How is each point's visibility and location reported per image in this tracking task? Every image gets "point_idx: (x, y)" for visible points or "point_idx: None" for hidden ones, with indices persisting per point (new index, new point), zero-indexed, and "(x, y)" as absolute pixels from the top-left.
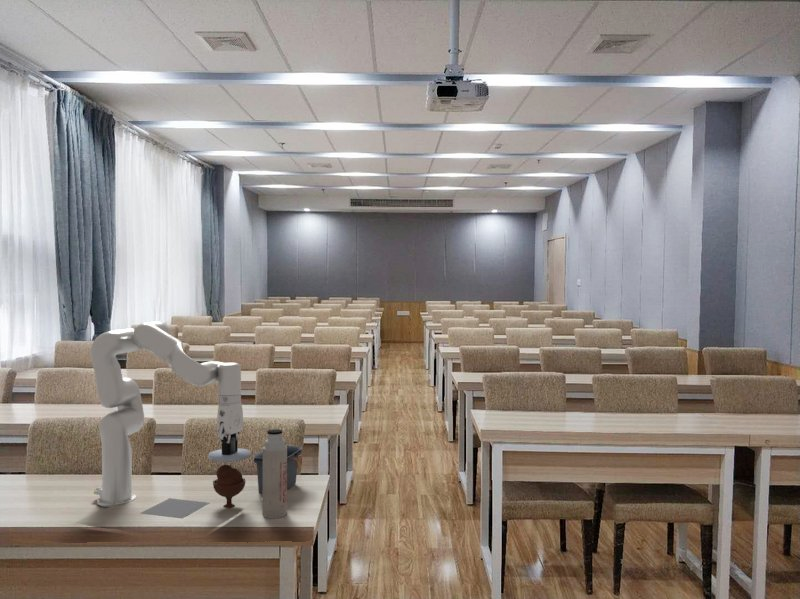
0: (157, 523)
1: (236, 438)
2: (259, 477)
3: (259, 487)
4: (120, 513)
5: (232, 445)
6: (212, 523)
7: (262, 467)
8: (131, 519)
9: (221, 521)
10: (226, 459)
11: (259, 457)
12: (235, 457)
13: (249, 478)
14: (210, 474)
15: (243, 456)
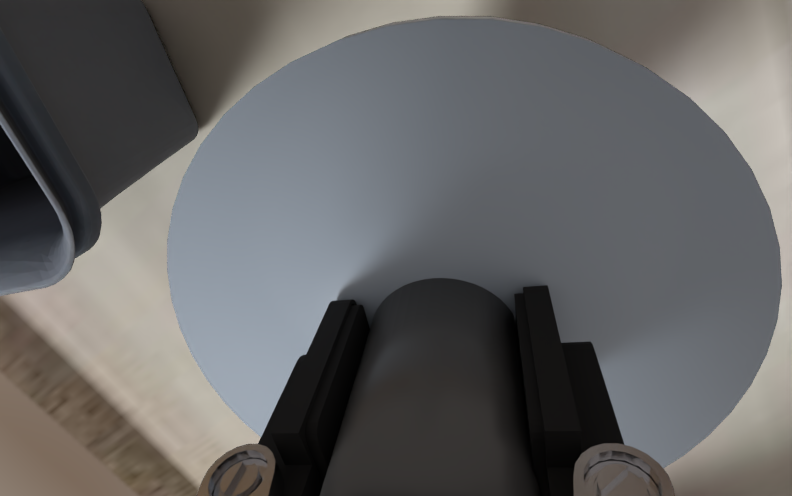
0: (788, 309)
1: (274, 479)
2: (145, 153)
3: (181, 135)
4: (687, 481)
5: (473, 382)
6: (734, 50)
7: (82, 152)
8: (751, 420)
9: (684, 22)
10: (761, 210)
11: (5, 253)
12: (663, 117)
13: (79, 315)
14: (161, 452)
15: (535, 28)
